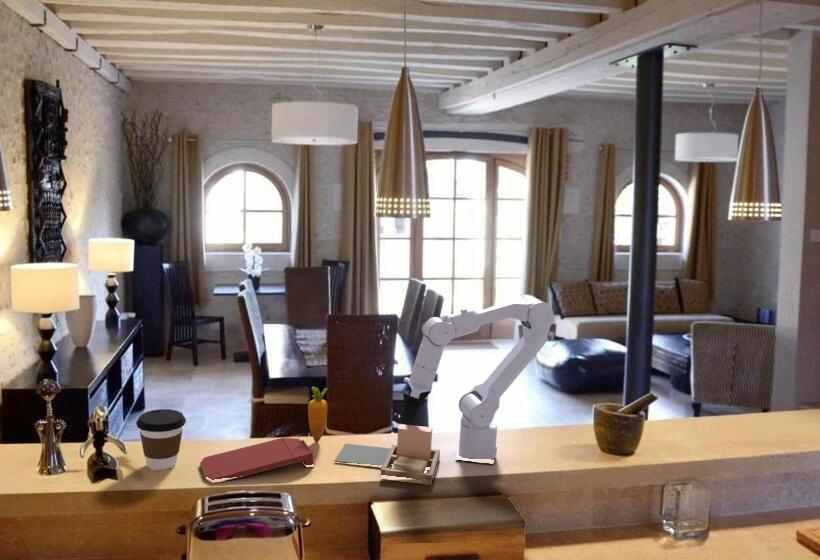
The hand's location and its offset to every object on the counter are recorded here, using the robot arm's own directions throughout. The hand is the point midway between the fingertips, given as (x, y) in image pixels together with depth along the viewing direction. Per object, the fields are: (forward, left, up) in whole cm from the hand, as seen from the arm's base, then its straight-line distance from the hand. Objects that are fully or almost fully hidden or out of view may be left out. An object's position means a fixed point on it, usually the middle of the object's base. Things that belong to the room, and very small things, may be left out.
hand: (409, 418), depth 191 cm
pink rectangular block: (-2, +1, -11) cm, 11 cm away
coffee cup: (+55, +18, -11) cm, 59 cm away
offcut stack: (-2, +8, -11) cm, 14 cm away
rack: (-2, +4, -11) cm, 12 cm away
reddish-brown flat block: (+34, +13, -12) cm, 38 cm away
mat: (+11, +1, -11) cm, 15 cm away
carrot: (+24, -5, -11) cm, 27 cm away
